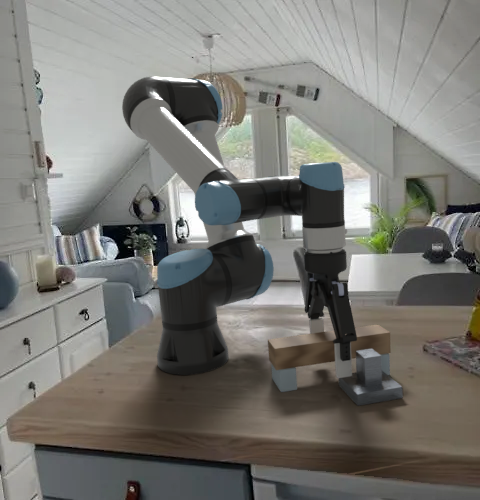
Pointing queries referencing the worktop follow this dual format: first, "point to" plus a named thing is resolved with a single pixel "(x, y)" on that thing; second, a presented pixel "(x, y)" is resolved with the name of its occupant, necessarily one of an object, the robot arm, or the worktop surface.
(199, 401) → the worktop surface
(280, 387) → the posts
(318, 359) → the plank
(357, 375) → the fulcrum
